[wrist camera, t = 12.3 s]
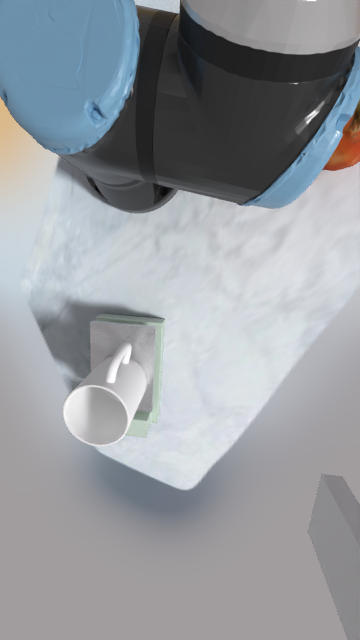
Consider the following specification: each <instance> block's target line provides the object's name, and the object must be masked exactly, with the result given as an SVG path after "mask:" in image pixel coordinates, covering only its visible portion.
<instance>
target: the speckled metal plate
mask: <svg viewBox="0 0 360 640" xmlns="http://www.w3.org/2000/svg"><path fill="white" fill-rule="evenodd" d="M156 333H157V326H148V325H137V324H125V323H114V322H103V321H91V322H90V363H91V372H92V371H93V370H94V368H95V367H96V366H97V365H98V364H100V363H101V362H102V361H103V360H105V359H107V358H109V357H112V356H114V354H115V352H116V351H117V350H118V348H119V347H120V346H121V345H122V344H123V343H125V342H128V343H130V344H131V347H132V349H131V355H130V358H131V359H133V360H135V361H136V362H137V363H138V364H139V365H140V366H141V367H142V369H143V370H144V373H145V375H146V381H147V383H146V389H145V392H144V395H143V397H142V399H141V402H140V404H139V406H138V408H137V410H136V411H144V412H152V410H153V397H154V376H155V354H156Z"/></svg>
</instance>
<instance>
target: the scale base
mask: <svg viewBox="0 0 360 640" xmlns="http://www.w3.org/2000/svg"><path fill="white" fill-rule="evenodd" d="M95 321H103V322H114V323H125V324H137V325H148V326H157V333H156V354H155V376H154V397H153V410H152V412H144V411H136V413H135V415H134V417H133V419H132V421H131V423H130V426H129V428H128V430H127V432H126V434H125V435H128V436H136V437H145V438H146V437H147V434H148V431H149V428H150V425H151V423H157V422H158V418H159V415H160V404H161V386H162V367H163V348H164V330H165V319H159V318H148V317H137V316H125V315H114V314H100V315H98V316H96V317H95Z"/></svg>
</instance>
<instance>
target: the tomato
mask: <svg viewBox="0 0 360 640" xmlns="http://www.w3.org/2000/svg"><path fill="white" fill-rule="evenodd" d="M342 133H343V136H342V138H341V140H340V142H339V144H338V146H337V147H336V149H335V151H334V152H333V154H332V156H331V157H330V159H329V160H328V162H327V163H326V165H325V166H324V168H323V169H322V170H330V171H336V170H340V169H344V168H347V167H350V166H353V165H355V164H356V163H358V162H359V161H360V99H359V102H358V104H357V106H356V109H355V111H354V113H353V116H352V117H351V118H350V119H349V121H348V122H347V123H346V125H345V126H344V127H343V131H342Z"/></svg>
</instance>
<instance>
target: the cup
mask: <svg viewBox="0 0 360 640" xmlns="http://www.w3.org/2000/svg"><path fill="white" fill-rule="evenodd" d="M131 349H132V347H131V344H130V343H128V342H125V343H123V344H122V345H121V346H120V347H119V348H118V350H117V351H116V352H115V354H114V356H112V357H109V358H107V359H105V360H103V361H102V362H101V363H100V364H98V365H97V366H96V367H95V368H94V370H93V371H92V372H91V373H90V374H89V375H88V376H87V377H86V378H85V379H84V380H83V381H82V382H81V383H80V384H79V385H78V386H77V387H76V388H75V389H74V390H73V391H72V392H71V393H70V394H69V395H68V396H67V398H66V399H65V402H64V405H63V418H64V421H65V424H66V426H67V428H68V429H69V431H70V432H71V433H72V434H73V435H74V436H75V437H76V438H78V439H79V440H81V441H82V442H84V443H87V444H90V445H93V446H108V445H111V444H114V443H116V442H118V441H119V440H120V439H121V438H123V436H124V435H125V434H126V432H127V430H128V428H129V426H130V423H131V421H132V419H133V417H134V415H135V413H136V410H137V408H138V406H139V404H140V402H141V399H142V397H143V395H144V392H145V389H146V383H147V381H146V375H145V373H144V370H143V369H142V367H141V366H140V365H139V364H138V363H137V362H136V361H135V360H133V359H131V358H130V355H131Z"/></svg>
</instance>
